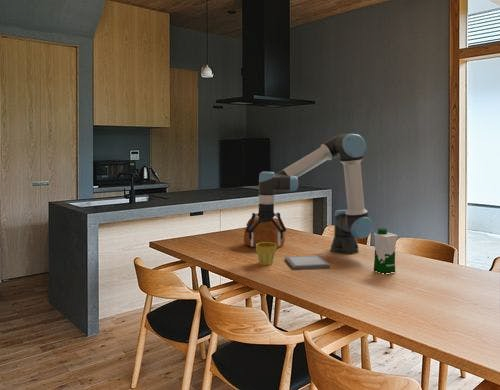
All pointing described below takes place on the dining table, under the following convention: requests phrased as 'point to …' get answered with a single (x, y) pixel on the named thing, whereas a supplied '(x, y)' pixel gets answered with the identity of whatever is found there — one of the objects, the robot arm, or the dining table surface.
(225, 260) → the dining table surface
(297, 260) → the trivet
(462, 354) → the dining table surface
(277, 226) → the robot arm
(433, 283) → the dining table surface
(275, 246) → the plant pot
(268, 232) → the bread
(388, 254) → the milk carton
